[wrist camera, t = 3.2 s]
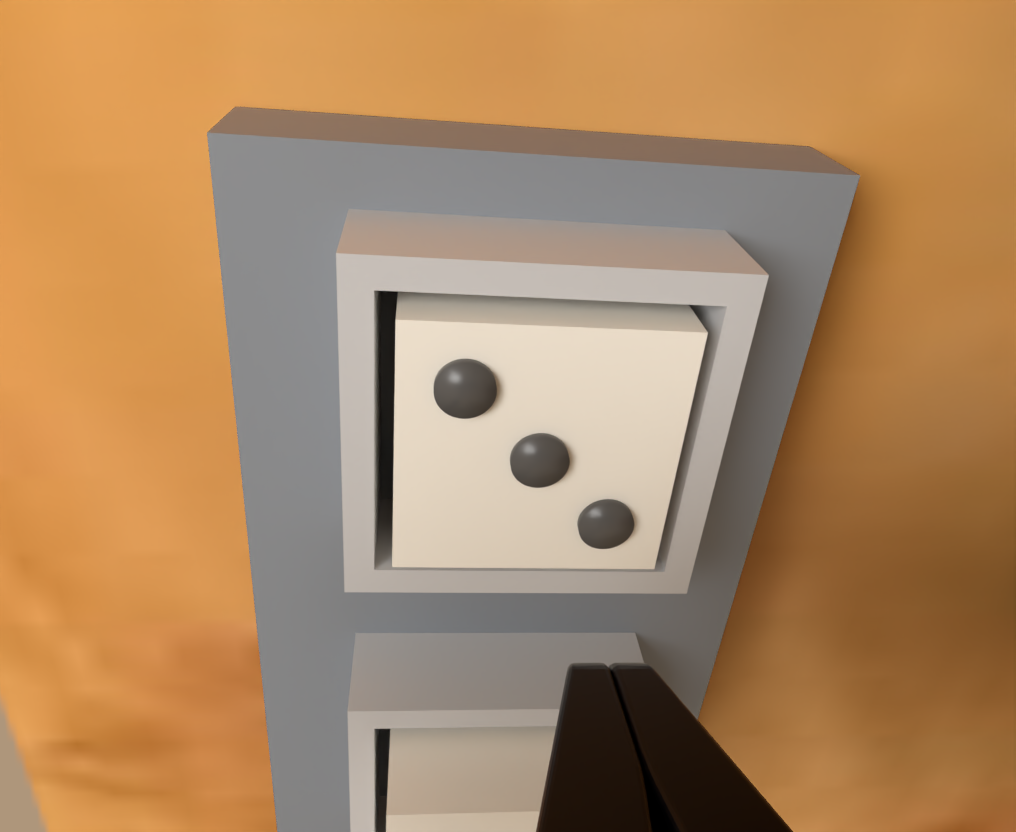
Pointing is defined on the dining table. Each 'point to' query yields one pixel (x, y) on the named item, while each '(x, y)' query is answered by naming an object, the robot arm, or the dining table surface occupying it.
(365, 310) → the button panel
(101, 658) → the dining table surface
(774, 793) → the dining table surface
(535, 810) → the button two
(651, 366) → the button three
